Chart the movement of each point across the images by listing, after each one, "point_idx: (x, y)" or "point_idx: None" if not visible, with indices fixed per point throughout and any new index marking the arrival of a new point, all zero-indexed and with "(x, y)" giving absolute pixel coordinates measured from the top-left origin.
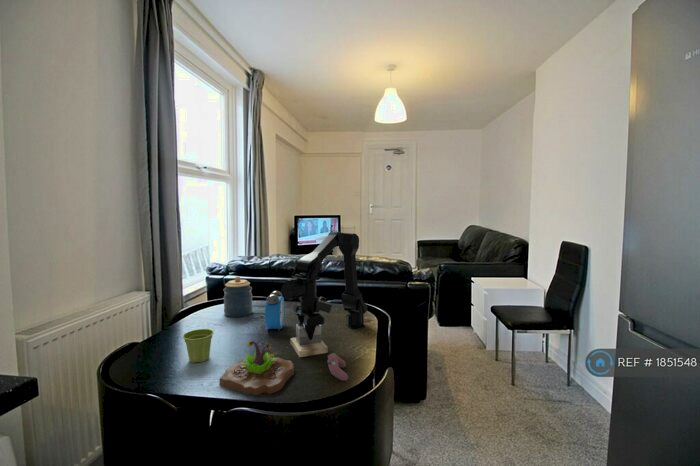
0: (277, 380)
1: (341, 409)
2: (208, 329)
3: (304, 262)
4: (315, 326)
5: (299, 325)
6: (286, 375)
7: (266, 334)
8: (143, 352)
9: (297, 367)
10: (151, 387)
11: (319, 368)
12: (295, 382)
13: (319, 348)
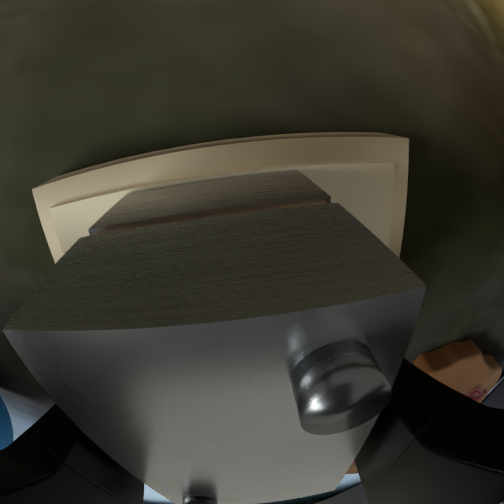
0: (493, 378)
1: None
2: None
3: None
4: (478, 411)
5: (226, 500)
6: (489, 364)
7: (34, 403)
8: None
9: (444, 332)
10: (328, 495)
11: (499, 246)
12: (500, 329)
13: (404, 219)
